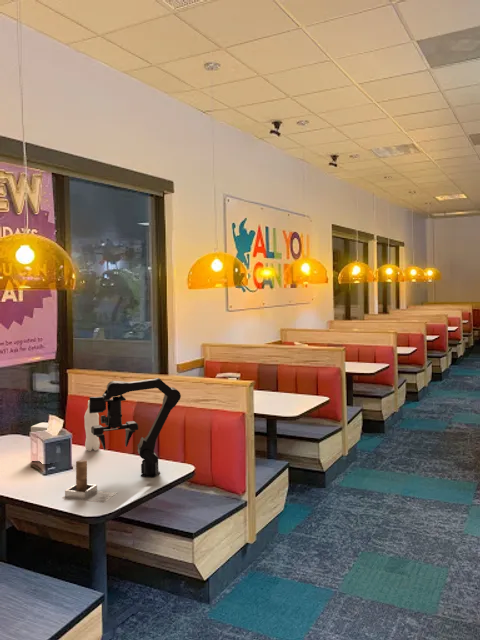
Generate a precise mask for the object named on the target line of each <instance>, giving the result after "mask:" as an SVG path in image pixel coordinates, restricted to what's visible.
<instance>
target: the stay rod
mask: <svg viewBox="0 0 480 640" xmlns="http://www.w3.org/2000/svg"><path fill="white" fill-rule="evenodd" d="M75 484H76V491H83V492H84V491H86V490H87V484H88V461H87V460H86V459H79V460H76V461H75Z"/></svg>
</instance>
